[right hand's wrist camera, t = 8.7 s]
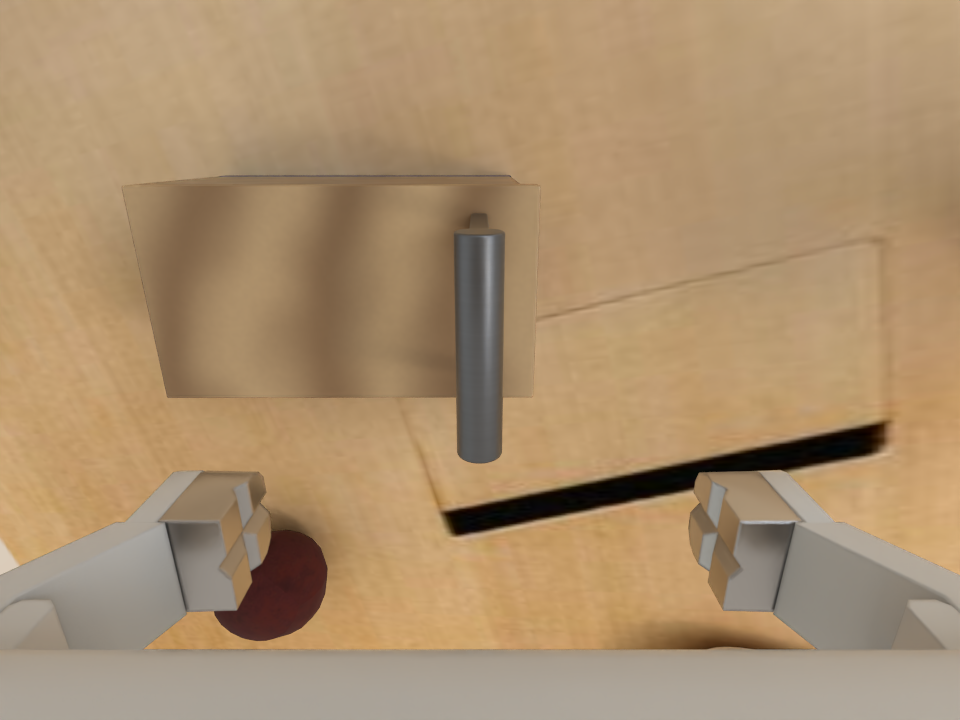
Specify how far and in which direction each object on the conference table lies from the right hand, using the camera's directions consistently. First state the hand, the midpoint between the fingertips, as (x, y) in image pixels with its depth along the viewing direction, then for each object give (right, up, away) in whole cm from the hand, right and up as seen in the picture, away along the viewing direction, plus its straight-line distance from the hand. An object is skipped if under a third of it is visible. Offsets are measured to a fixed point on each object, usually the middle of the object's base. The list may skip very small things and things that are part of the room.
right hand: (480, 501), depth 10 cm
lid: (-6, +6, +16) cm, 18 cm away
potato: (-14, -12, +32) cm, 37 cm away
